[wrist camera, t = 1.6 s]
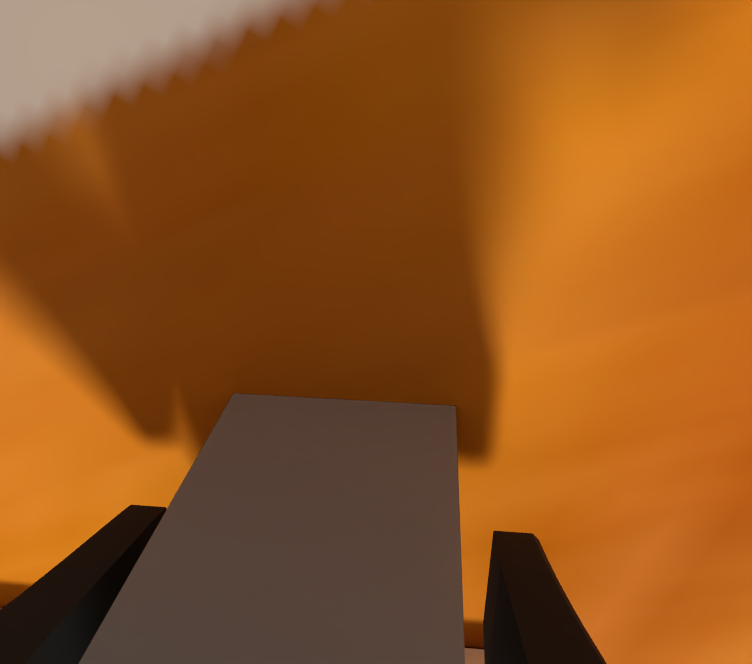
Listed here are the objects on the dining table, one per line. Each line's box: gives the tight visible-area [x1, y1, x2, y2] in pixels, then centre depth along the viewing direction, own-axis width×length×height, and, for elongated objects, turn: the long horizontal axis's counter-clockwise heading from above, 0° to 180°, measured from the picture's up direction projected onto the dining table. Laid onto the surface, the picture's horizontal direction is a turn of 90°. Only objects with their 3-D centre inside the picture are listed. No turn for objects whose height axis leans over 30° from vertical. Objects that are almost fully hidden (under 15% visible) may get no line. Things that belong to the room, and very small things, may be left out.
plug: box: [79, 393, 465, 664], centre depth 9 cm, size 4×4×6 cm
